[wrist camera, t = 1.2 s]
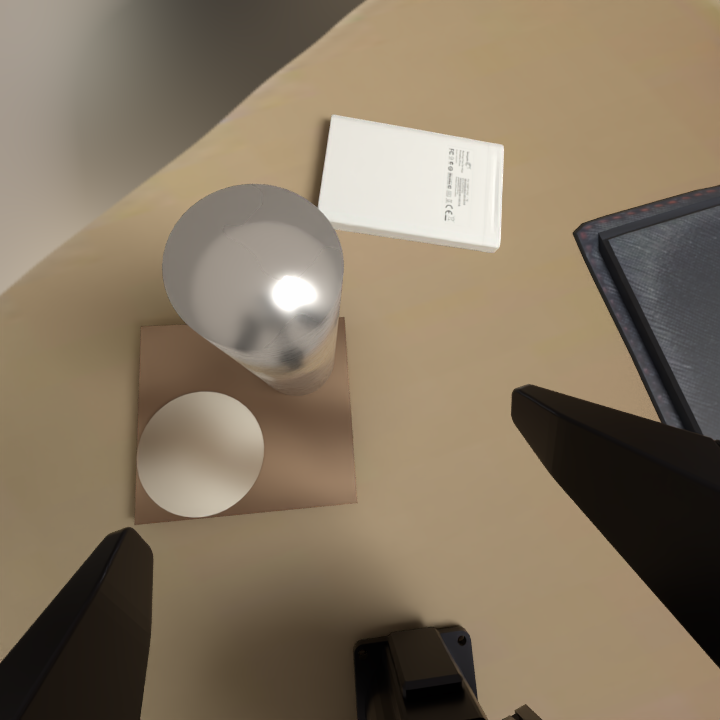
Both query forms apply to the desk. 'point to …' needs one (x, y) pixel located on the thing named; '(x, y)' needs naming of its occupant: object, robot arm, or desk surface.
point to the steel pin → (260, 282)
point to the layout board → (235, 434)
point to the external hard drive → (412, 184)
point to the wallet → (665, 299)
